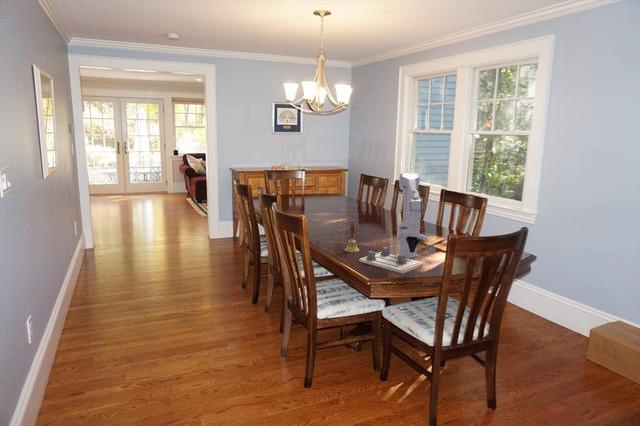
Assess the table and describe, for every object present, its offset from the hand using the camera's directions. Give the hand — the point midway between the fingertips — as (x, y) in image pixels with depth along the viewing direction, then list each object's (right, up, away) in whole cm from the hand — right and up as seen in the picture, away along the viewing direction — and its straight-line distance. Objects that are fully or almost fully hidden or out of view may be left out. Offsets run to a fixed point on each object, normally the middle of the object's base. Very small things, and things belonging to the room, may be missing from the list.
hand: (412, 252), depth 213 cm
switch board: (-9, -7, +10) cm, 15 cm away
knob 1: (-18, -5, +11) cm, 22 cm away
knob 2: (-10, -3, +19) cm, 22 cm away
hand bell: (-27, -2, +32) cm, 42 cm away
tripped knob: (-4, -6, +5) cm, 9 cm away
